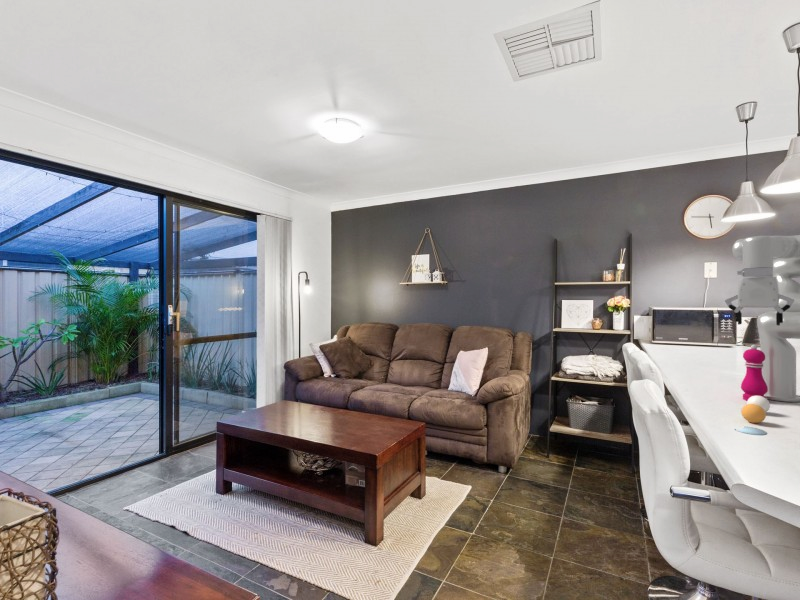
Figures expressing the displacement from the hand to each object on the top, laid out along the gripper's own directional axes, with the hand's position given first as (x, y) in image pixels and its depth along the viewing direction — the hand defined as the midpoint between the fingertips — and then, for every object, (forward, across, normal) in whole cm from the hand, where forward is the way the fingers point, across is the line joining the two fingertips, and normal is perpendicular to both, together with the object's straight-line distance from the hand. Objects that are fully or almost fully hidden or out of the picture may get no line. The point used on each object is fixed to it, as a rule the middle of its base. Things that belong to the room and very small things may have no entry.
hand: (758, 324), depth 134 cm
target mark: (+27, 0, -32) cm, 42 cm away
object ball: (+24, 0, -22) cm, 33 cm away
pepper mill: (+29, -2, +11) cm, 31 cm away
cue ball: (+25, 0, -8) cm, 26 cm away
